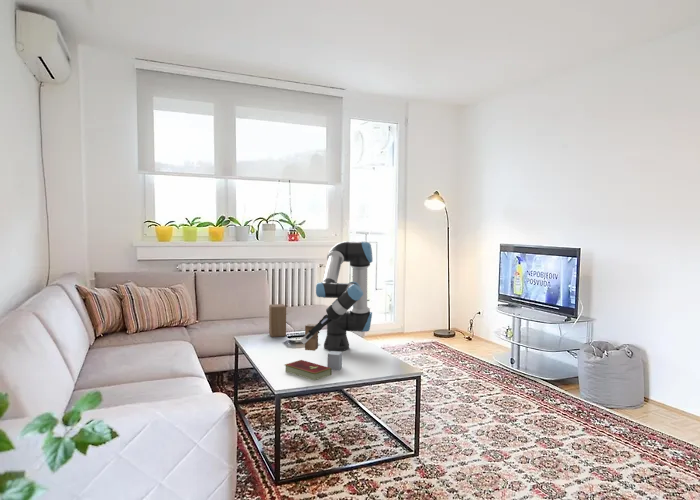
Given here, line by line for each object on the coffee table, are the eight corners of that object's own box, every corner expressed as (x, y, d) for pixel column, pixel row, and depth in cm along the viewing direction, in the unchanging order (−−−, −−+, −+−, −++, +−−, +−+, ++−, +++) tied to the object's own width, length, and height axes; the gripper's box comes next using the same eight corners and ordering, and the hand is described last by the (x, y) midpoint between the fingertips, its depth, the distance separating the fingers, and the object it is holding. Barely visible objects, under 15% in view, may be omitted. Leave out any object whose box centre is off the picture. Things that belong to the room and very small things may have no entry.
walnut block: (308, 347, 240) (308, 323, 239) (317, 348, 239) (318, 324, 238) (304, 349, 235) (305, 325, 235) (314, 350, 234) (314, 326, 233)
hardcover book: (301, 367, 249) (301, 359, 249) (331, 375, 236) (331, 367, 235) (284, 372, 240) (284, 364, 240) (314, 381, 226) (314, 372, 226)
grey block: (330, 366, 250) (330, 351, 250) (341, 367, 249) (342, 351, 248) (327, 369, 244) (327, 354, 244) (338, 370, 243) (338, 355, 242)
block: (268, 334, 320) (269, 304, 319) (283, 333, 323) (283, 303, 322) (270, 337, 310) (271, 306, 309) (286, 336, 313) (286, 306, 312)
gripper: (336, 319, 224) (303, 351, 228) (346, 312, 241) (315, 342, 246) (326, 307, 225) (292, 339, 229) (336, 301, 242) (305, 331, 247)
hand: (304, 340), depth 238 cm, fingers closed on walnut block, 5 cm apart
